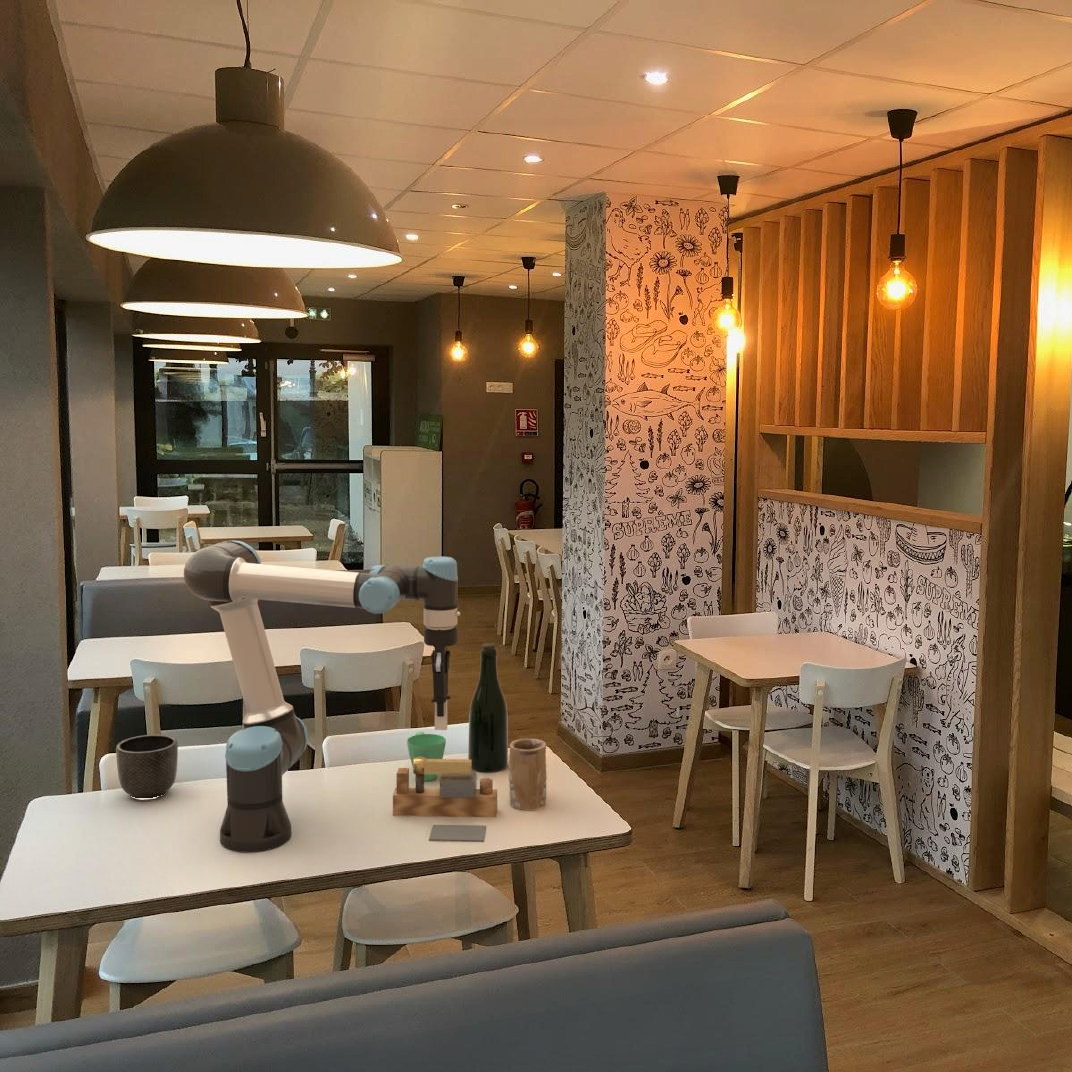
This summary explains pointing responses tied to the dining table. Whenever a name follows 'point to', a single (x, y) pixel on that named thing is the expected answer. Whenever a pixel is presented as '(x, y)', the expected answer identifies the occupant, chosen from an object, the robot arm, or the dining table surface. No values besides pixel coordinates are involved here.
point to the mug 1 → (426, 748)
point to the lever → (442, 766)
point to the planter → (147, 765)
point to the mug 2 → (527, 774)
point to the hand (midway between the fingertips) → (441, 728)
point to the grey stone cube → (458, 786)
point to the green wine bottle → (488, 717)
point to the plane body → (441, 799)
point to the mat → (458, 833)
